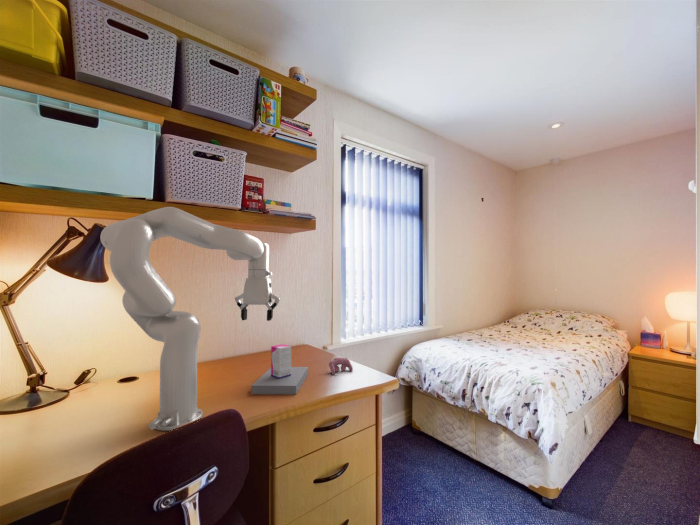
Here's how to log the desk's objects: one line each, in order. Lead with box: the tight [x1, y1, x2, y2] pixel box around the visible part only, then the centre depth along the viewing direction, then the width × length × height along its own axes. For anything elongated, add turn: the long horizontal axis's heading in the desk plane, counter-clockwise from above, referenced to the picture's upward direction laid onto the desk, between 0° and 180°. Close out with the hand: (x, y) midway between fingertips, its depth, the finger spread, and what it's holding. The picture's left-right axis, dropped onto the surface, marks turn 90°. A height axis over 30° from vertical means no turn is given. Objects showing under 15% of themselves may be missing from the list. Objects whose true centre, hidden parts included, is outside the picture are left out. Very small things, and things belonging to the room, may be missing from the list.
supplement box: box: [270, 343, 292, 379], centre depth 118 cm, size 6×6×12 cm
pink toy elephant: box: [328, 356, 354, 375], centre depth 132 cm, size 10×5×7 cm, turn 116°
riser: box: [251, 366, 309, 395], centre depth 118 cm, size 22×16×3 cm
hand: (256, 320), depth 114 cm, fingers open, 9 cm apart
